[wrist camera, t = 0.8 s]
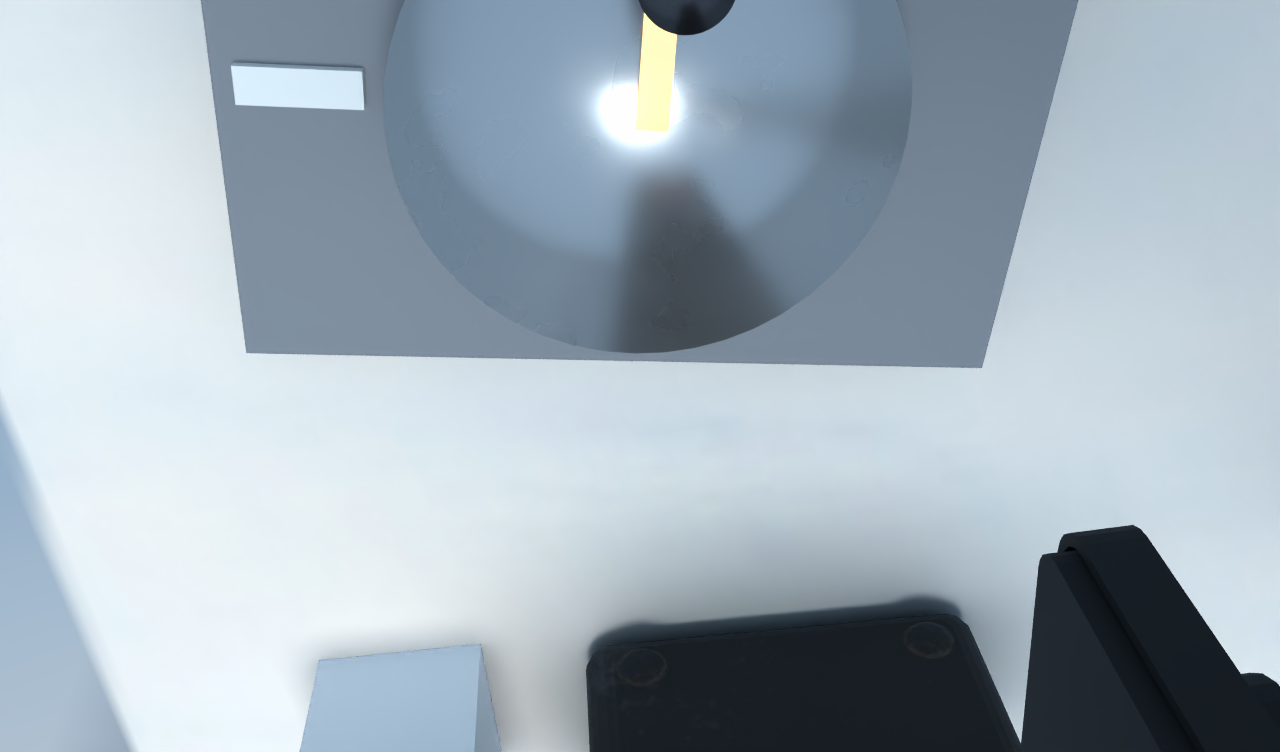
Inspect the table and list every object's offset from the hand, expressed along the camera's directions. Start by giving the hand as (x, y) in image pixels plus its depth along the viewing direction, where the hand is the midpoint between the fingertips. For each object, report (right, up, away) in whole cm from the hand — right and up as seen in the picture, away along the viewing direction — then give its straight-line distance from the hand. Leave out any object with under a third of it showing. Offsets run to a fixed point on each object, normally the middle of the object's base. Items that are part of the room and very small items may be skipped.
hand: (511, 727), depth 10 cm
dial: (+1, +10, +20) cm, 22 cm away
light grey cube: (-8, -10, +35) cm, 37 cm away
